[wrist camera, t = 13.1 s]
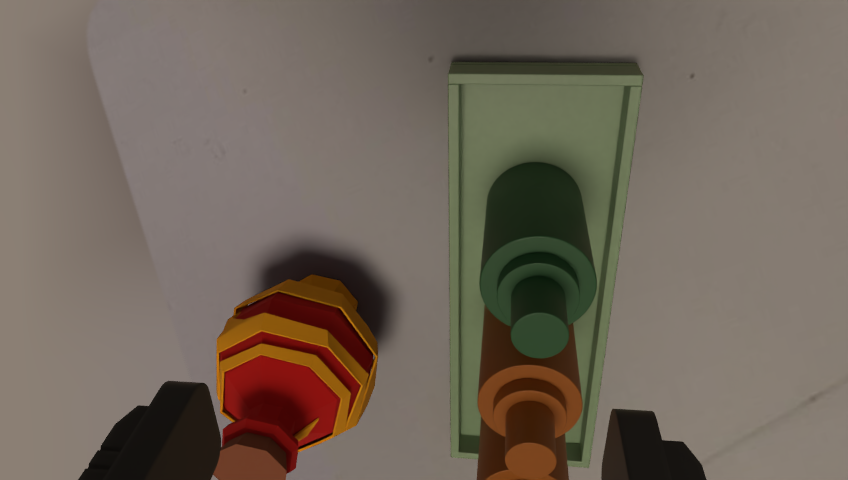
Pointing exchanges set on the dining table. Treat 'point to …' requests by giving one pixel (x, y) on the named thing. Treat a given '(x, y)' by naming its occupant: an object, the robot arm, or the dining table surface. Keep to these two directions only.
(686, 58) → the dining table surface
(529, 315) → the green bottle
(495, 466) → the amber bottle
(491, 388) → the amber bottle mid
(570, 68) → the tray
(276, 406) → the potion bottle
